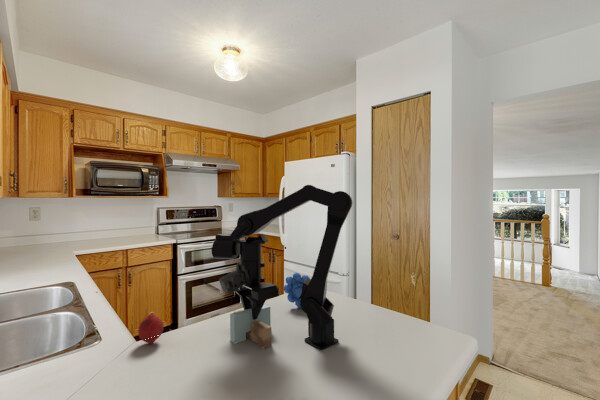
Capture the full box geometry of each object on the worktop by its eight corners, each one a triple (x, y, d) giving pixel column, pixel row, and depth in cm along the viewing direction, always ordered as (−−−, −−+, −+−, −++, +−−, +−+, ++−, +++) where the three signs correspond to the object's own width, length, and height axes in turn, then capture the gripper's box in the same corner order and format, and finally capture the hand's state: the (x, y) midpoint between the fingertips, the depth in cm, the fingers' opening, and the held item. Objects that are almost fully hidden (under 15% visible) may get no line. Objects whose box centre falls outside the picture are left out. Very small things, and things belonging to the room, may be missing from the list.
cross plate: (270, 331, 82) (270, 306, 82) (234, 343, 75) (234, 316, 75) (266, 329, 83) (265, 304, 84) (230, 340, 76) (230, 313, 77)
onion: (153, 350, 72) (152, 317, 72) (132, 347, 73) (132, 315, 73) (168, 339, 77) (168, 309, 78) (149, 337, 79) (149, 307, 79)
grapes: (281, 311, 96) (281, 275, 96) (284, 304, 103) (284, 270, 103) (316, 312, 95) (316, 276, 95) (317, 305, 102) (317, 271, 102)
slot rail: (271, 345, 74) (271, 327, 74) (263, 348, 72) (263, 329, 72) (241, 325, 86) (241, 309, 86) (233, 327, 85) (233, 311, 85)
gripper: (208, 258, 82) (209, 314, 81) (240, 269, 67) (241, 337, 67) (244, 254, 89) (244, 305, 88) (279, 263, 74) (280, 324, 74)
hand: (251, 317), depth 79 cm, fingers open, 4 cm apart
